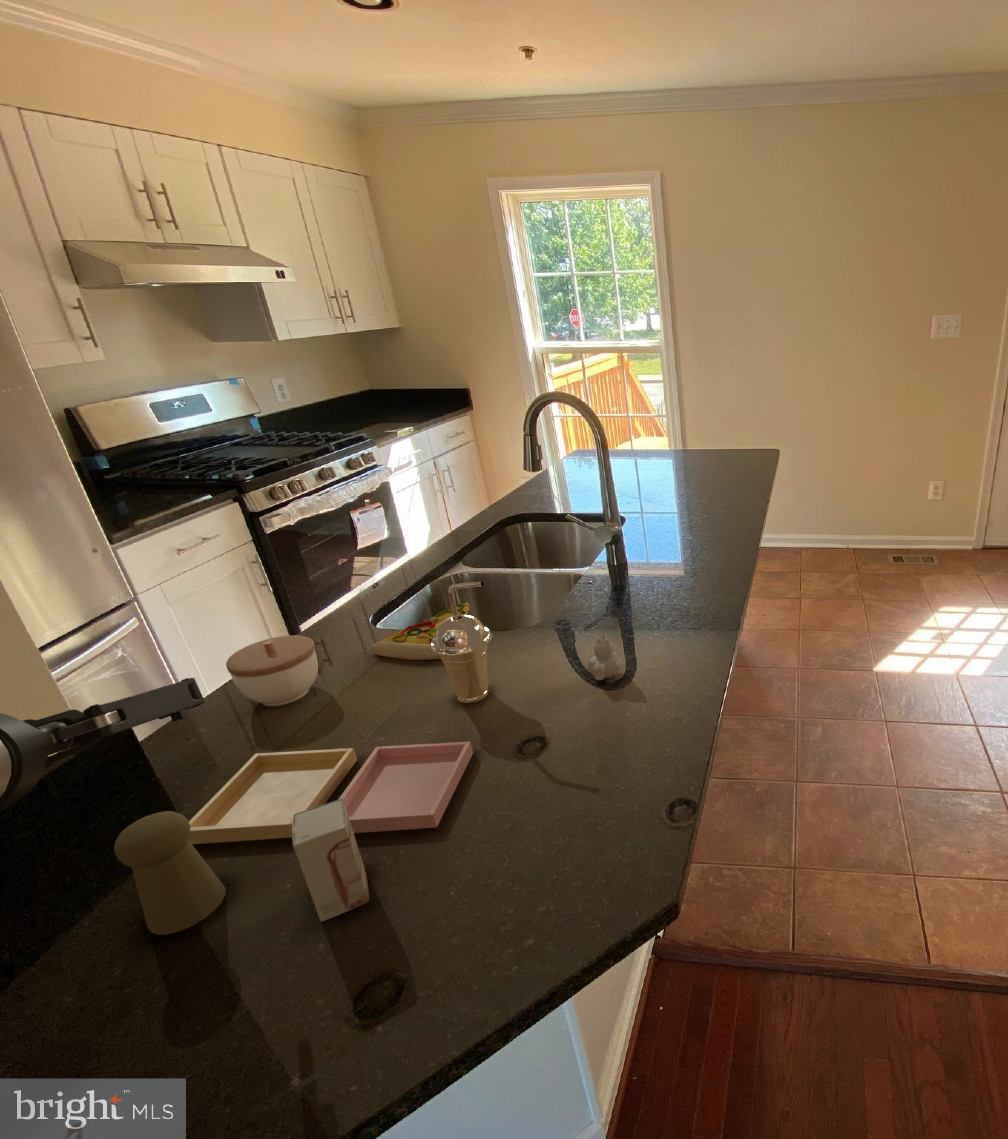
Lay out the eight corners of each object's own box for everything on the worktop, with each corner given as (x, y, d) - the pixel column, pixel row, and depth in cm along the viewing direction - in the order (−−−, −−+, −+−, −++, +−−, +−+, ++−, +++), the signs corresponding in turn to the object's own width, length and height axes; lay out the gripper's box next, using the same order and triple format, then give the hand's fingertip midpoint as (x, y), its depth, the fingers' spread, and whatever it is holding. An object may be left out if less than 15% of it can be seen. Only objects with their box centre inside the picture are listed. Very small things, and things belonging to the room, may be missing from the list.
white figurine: (627, 668, 104) (624, 626, 101) (614, 690, 98) (610, 646, 95) (597, 665, 105) (593, 624, 102) (582, 687, 99) (576, 644, 96)
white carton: (371, 902, 63) (346, 828, 59) (319, 924, 60) (290, 849, 56) (367, 867, 67) (343, 795, 63) (318, 886, 64) (291, 813, 60)
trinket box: (310, 668, 103) (294, 619, 99) (338, 690, 97) (322, 639, 93) (231, 698, 95) (211, 646, 91) (257, 724, 89) (236, 669, 85)
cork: (144, 907, 62) (99, 825, 58) (220, 871, 66) (184, 792, 62) (150, 947, 58) (103, 862, 54) (231, 905, 62) (193, 823, 58)
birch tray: (185, 844, 69) (178, 831, 68) (260, 765, 81) (255, 753, 80) (300, 837, 70) (295, 823, 70) (357, 759, 82) (353, 747, 82)
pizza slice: (366, 659, 106) (362, 644, 105) (433, 606, 125) (430, 592, 124) (452, 663, 105) (449, 647, 104) (506, 609, 124) (504, 595, 123)
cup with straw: (481, 674, 102) (460, 563, 94) (515, 692, 97) (495, 577, 89) (432, 698, 95) (404, 581, 88) (465, 719, 91) (439, 597, 83)
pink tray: (326, 835, 71) (321, 822, 70) (379, 758, 83) (376, 746, 82) (436, 827, 72) (433, 814, 71) (473, 752, 84) (470, 741, 83)
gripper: (-367, 950, 34) (-82, 833, 52) (199, 740, 45) (267, 706, 64) (-436, 827, 33) (-122, 753, 52) (157, 646, 45) (238, 639, 63)
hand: (93, 727), depth 58 cm, fingers open, 13 cm apart
